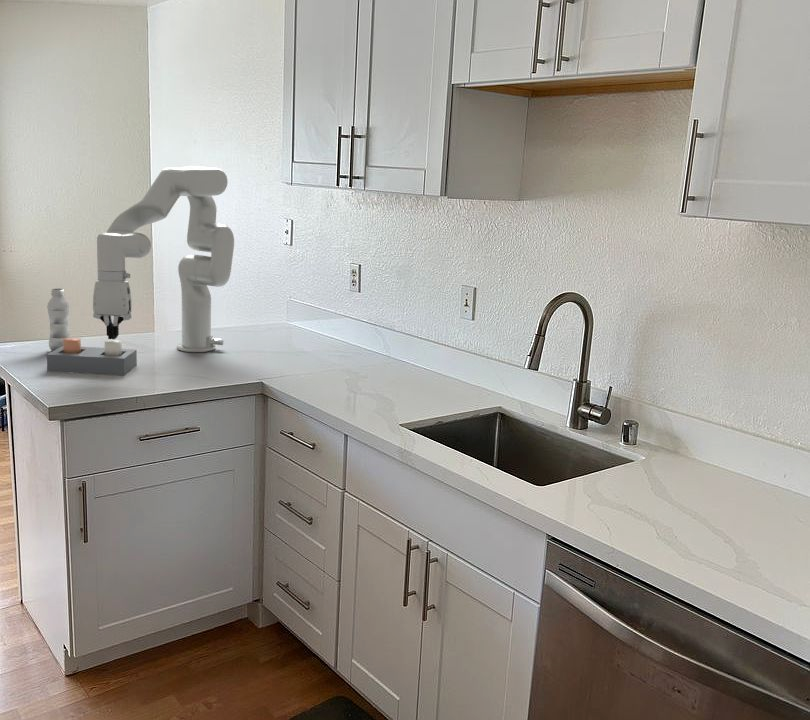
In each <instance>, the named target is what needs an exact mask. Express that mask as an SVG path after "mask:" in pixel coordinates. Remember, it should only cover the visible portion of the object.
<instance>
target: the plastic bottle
mask: <svg viewBox="0 0 810 720" xmlns="http://www.w3.org/2000/svg"><path fill="white" fill-rule="evenodd" d="M50 291H51V292H50V294H51V295H50V296H51V298H50V299H49V301H48V302H47V305H46V308H47V314H48V318H49V319H48V321H49V339H48V347H49V349H50V351H51V352H52V351H54V350H56V349H58V348H60V347H61V346H63V339H65V338H71V337H70V331H69V311H70V304H69V301H68V300H67V299H66V298H65V297H64V296H65V288H51V290H50Z"/></svg>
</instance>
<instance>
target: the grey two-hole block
mask: <svg viewBox="0 0 810 720" xmlns="http://www.w3.org/2000/svg"><path fill="white" fill-rule="evenodd" d="M137 355H138V353H137V349H133V348H132V349H131V348H122V355H121V356H113V355H105V347H91V346H81V353H79V354H74V353H63V346H61V347H60V348H58V349H56V350H54V351H52V350H51V352H48V353H46V367H47V369H46V370H47V371H46V372H49V371H55V372H54V373H69V372H73V374H88V373H93V375H94V374H95V375H109V376H110V374H111V376H112V375H113V376H126V375H127V374H128V373H130V371H132V370H133V369H134V368H136V367H137V366H138V365H137V364H138V363H137V362H138V359H137V357H138V356H137ZM135 366H136V367H135Z"/></svg>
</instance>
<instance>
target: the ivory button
mask: <svg viewBox="0 0 810 720" xmlns="http://www.w3.org/2000/svg"><path fill="white" fill-rule="evenodd" d="M103 344H104V348H105V355H113V356H121V355H122V349H123V341H122V340H121V339H108V340H104V343H103Z"/></svg>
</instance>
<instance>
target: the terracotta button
mask: <svg viewBox="0 0 810 720" xmlns="http://www.w3.org/2000/svg"><path fill="white" fill-rule="evenodd" d="M81 342H82V341H81V338H79V337H70V338H65V339H63V353H74V354H79V353H81V347H82V346H81V345H82V344H81Z"/></svg>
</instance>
